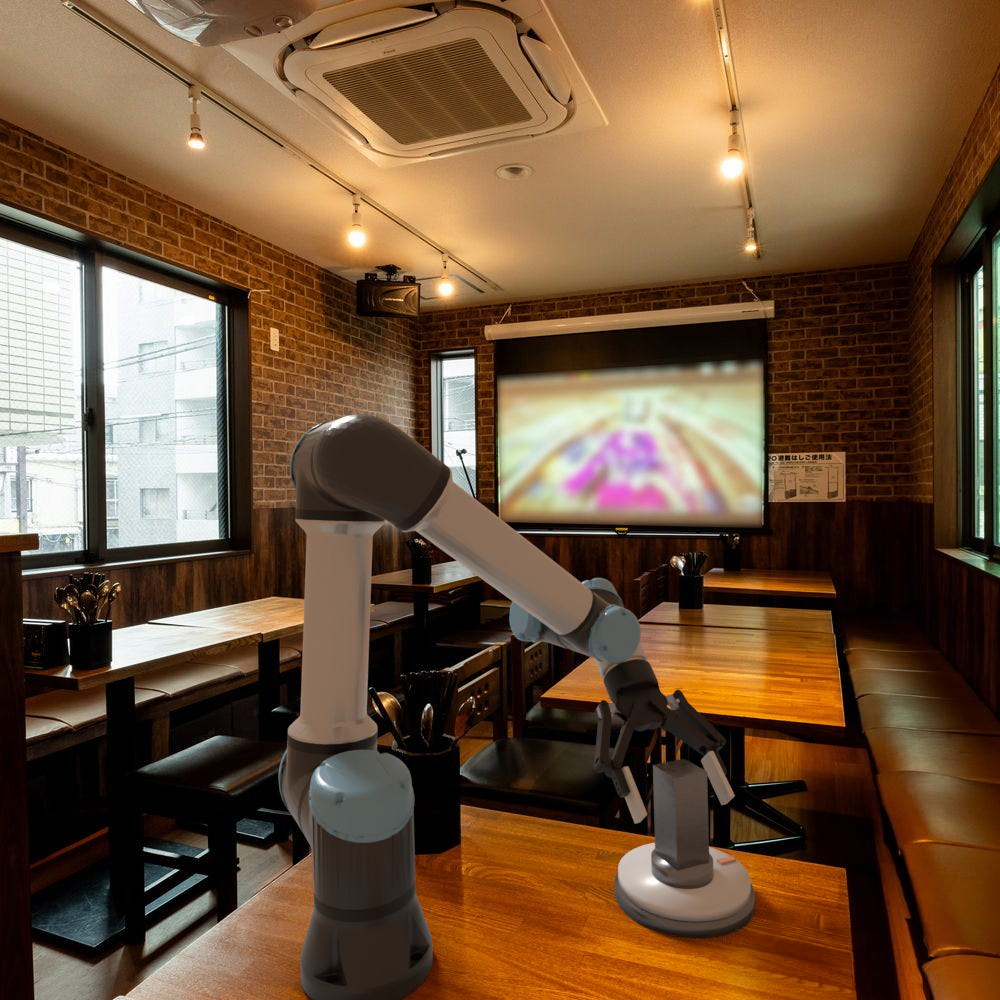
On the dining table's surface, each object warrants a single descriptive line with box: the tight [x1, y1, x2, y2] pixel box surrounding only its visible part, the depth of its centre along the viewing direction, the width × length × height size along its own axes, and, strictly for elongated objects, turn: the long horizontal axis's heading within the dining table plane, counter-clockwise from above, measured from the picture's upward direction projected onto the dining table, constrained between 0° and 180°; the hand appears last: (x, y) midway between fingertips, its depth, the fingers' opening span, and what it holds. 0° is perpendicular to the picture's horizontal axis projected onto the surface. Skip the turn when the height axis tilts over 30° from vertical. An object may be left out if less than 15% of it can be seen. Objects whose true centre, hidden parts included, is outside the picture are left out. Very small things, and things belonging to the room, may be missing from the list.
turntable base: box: [614, 871, 756, 939], centre depth 99 cm, size 18×18×2 cm
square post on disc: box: [651, 758, 714, 889], centre depth 98 cm, size 8×8×14 cm
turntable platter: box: [617, 842, 751, 922], centre depth 99 cm, size 17×17×2 cm
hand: (685, 810), depth 98 cm, fingers open, 13 cm apart
